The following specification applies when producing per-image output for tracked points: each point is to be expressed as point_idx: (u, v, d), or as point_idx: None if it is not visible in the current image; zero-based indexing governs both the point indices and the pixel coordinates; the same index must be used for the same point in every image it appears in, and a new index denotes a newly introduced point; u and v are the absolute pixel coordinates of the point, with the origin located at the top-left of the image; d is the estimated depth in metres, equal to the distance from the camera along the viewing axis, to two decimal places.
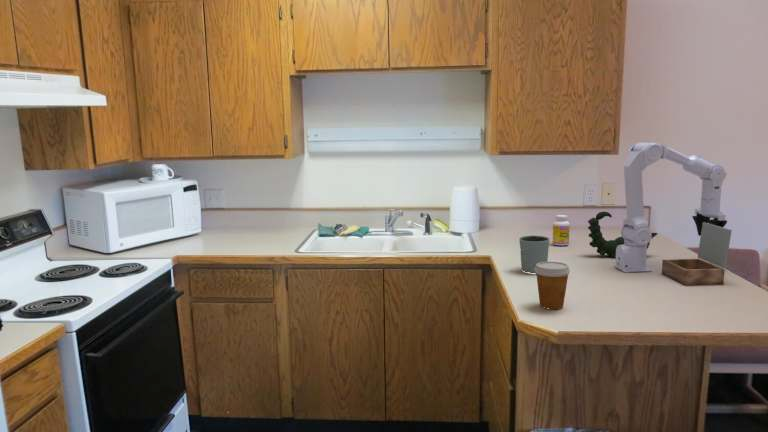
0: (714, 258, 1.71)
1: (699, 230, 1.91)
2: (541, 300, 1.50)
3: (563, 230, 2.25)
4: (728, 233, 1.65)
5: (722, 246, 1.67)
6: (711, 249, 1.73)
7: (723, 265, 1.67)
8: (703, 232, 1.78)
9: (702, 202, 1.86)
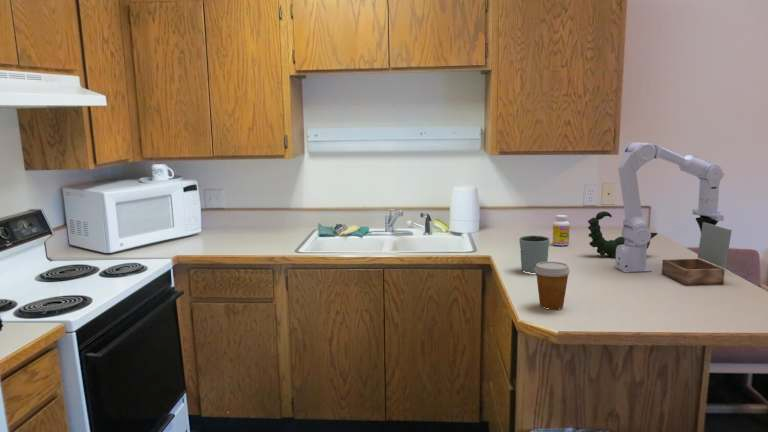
0: (714, 258, 1.71)
1: None
2: (541, 300, 1.50)
3: (563, 230, 2.25)
4: (728, 233, 1.65)
5: (722, 246, 1.67)
6: (711, 249, 1.73)
7: (723, 265, 1.67)
8: (703, 232, 1.78)
9: (700, 202, 1.84)
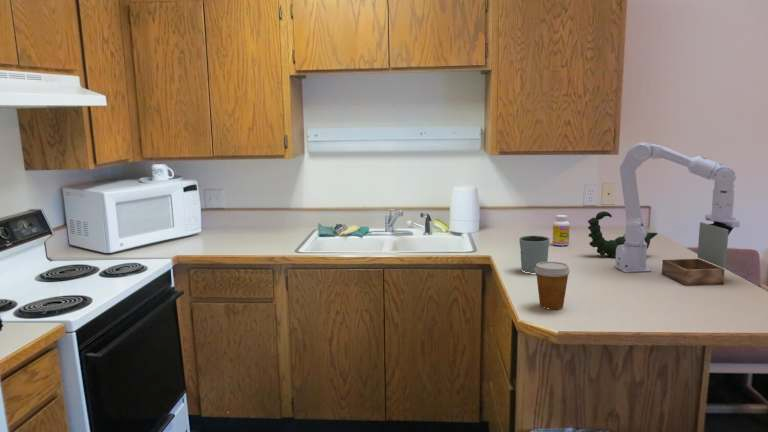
0: (714, 258, 1.71)
1: None
2: (541, 300, 1.50)
3: (563, 230, 2.25)
4: (725, 233, 1.65)
5: (720, 246, 1.67)
6: (710, 249, 1.73)
7: (723, 265, 1.67)
8: (701, 232, 1.78)
9: (713, 207, 1.71)
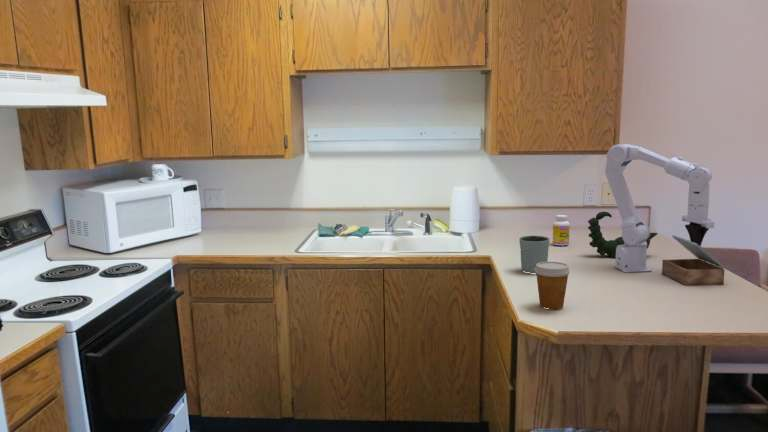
0: (709, 261, 1.71)
1: None
2: (541, 300, 1.50)
3: (563, 230, 2.25)
4: (698, 247, 1.66)
5: (705, 254, 1.68)
6: (700, 255, 1.73)
7: (721, 266, 1.67)
8: (680, 243, 1.78)
9: (689, 208, 1.71)
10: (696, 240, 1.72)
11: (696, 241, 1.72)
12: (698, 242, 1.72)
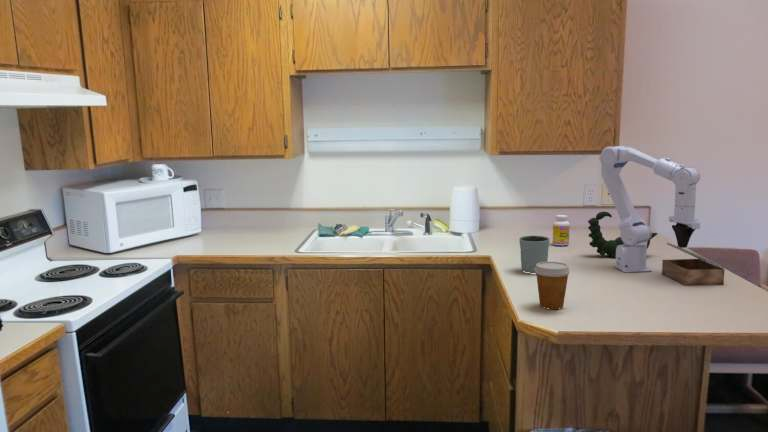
0: None
1: None
2: (541, 300, 1.50)
3: (563, 230, 2.25)
4: (693, 254, 1.66)
5: None
6: (698, 258, 1.73)
7: (721, 267, 1.67)
8: (676, 248, 1.78)
9: (676, 209, 1.71)
10: (682, 241, 1.72)
11: (682, 242, 1.72)
12: (684, 243, 1.72)
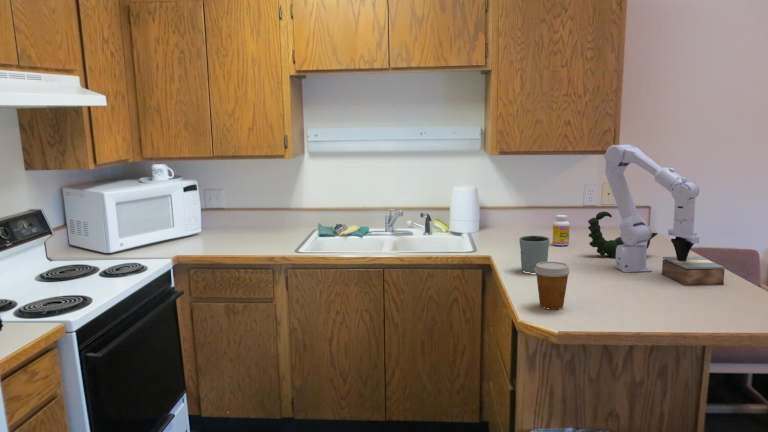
0: None
1: None
2: (541, 300, 1.50)
3: (563, 230, 2.25)
4: (689, 268, 1.67)
5: None
6: None
7: (721, 268, 1.67)
8: None
9: (675, 223, 1.72)
10: (682, 254, 1.73)
11: (682, 255, 1.73)
12: (683, 256, 1.73)
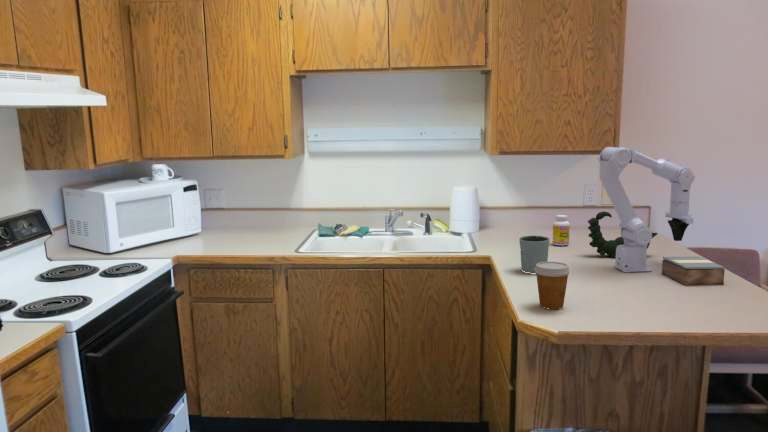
0: None
1: None
2: (541, 300, 1.50)
3: (563, 230, 2.25)
4: (689, 268, 1.67)
5: None
6: None
7: (721, 268, 1.67)
8: None
9: (671, 205, 1.86)
10: (677, 234, 1.87)
11: (677, 235, 1.87)
12: (679, 236, 1.87)
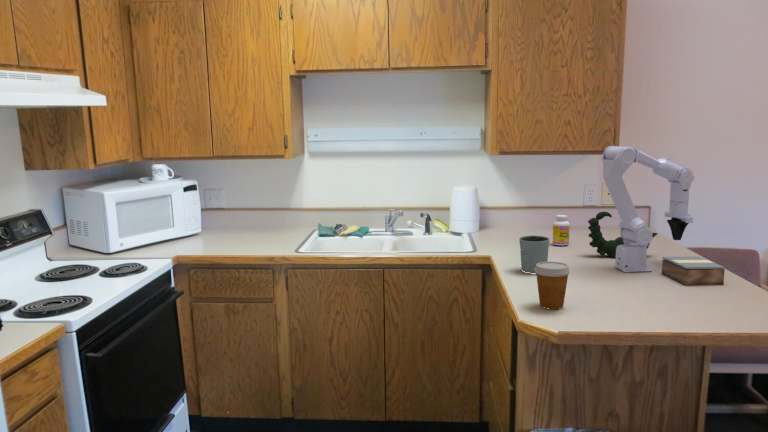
0: None
1: None
2: (541, 300, 1.50)
3: (563, 230, 2.25)
4: (689, 268, 1.67)
5: None
6: None
7: (721, 268, 1.67)
8: None
9: (670, 205, 1.87)
10: (677, 234, 1.88)
11: (677, 235, 1.88)
12: (679, 236, 1.88)
